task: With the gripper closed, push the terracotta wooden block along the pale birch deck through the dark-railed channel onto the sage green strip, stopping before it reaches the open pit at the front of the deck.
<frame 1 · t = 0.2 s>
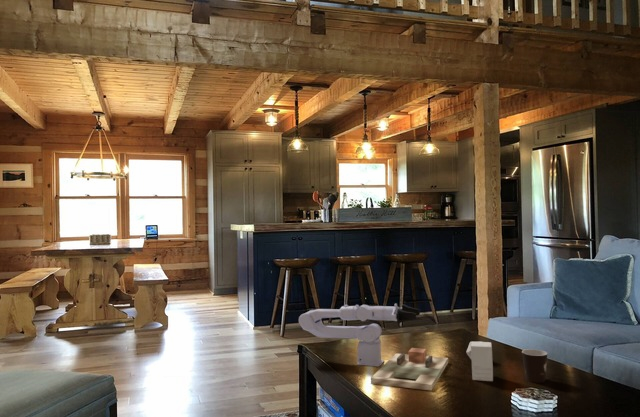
hand: (417, 314, 201), 21 cm above the table, tool horizontal, fingers open, 7 cm apart
die: (477, 361, 208), on the table
deck: (411, 372, 194), on the table
block: (417, 360, 204), point 2 cm above the table, touching deck
coffee mug: (538, 379, 183), on the table
supplement box: (482, 378, 186), on the table
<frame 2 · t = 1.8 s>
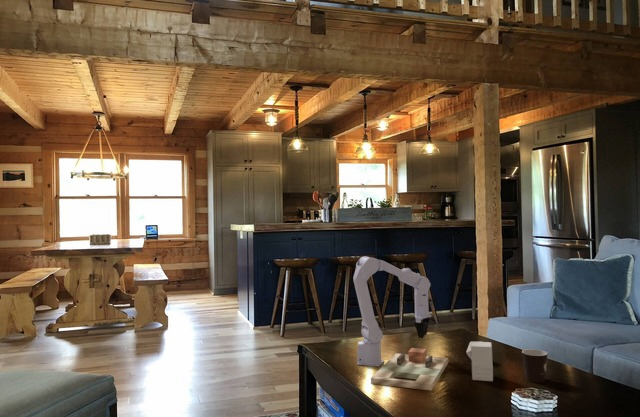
hand: (422, 336, 213), 9 cm above the table, tool pointing down, fingers open, 5 cm apart
nothing on the table moved.
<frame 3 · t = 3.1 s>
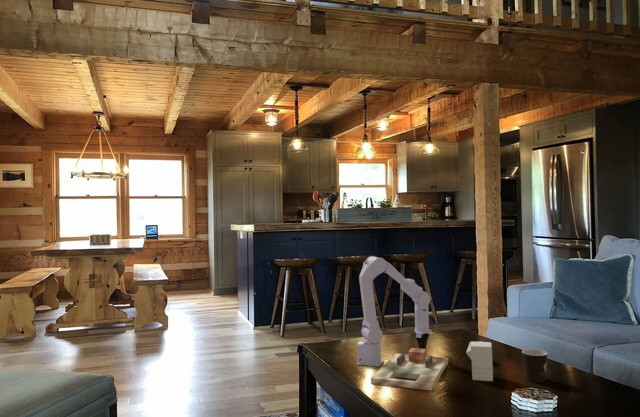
hand: (422, 351, 213), 3 cm above the table, tool pointing down, fingers closed
nothing on the table moved.
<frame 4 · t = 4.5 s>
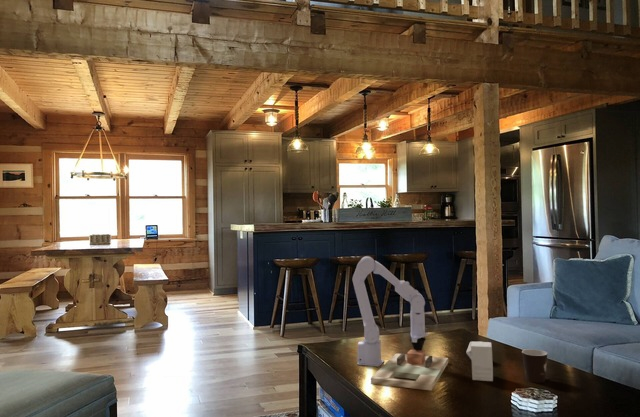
hand: (418, 356, 206), 3 cm above the table, tool pointing down, fingers closed
block: (416, 361, 202), point 2 cm above the table, touching gripper
everything else where it was.
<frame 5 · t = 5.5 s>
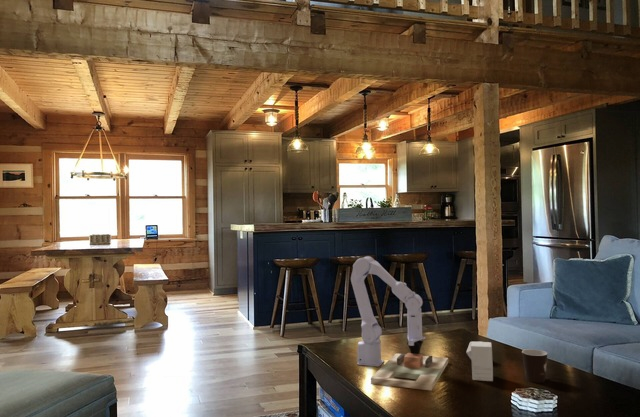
hand: (415, 359, 201), 3 cm above the table, tool pointing down, fingers closed
block: (413, 365, 197), point 2 cm above the table, touching gripper
everything else where it was.
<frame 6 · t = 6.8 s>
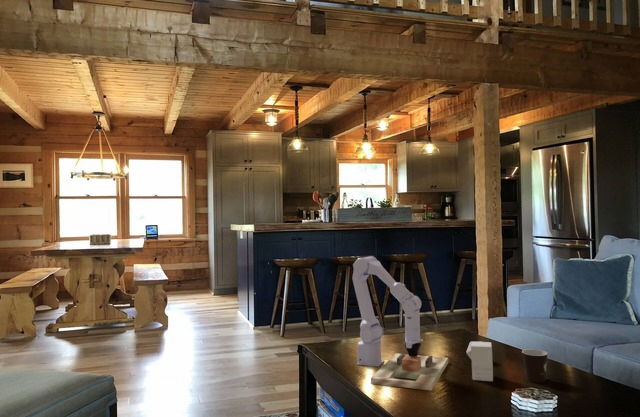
hand: (413, 362, 197), 3 cm above the table, tool pointing down, fingers closed
block: (411, 368, 193), point 2 cm above the table, touching deck, gripper
everything else where it was.
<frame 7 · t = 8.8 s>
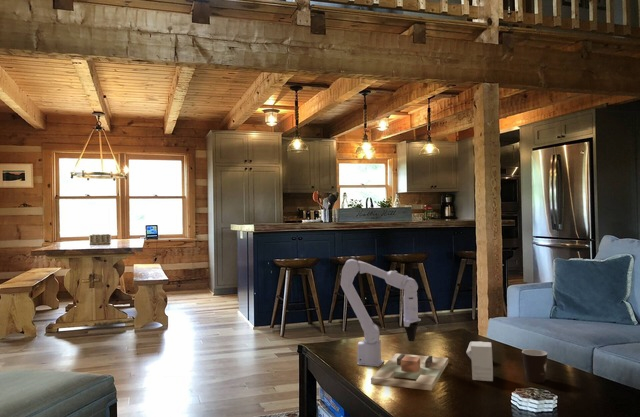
hand: (411, 340, 206), 9 cm above the table, tool pointing down, fingers closed
block: (410, 369, 192), point 2 cm above the table, touching deck
everything else where it was.
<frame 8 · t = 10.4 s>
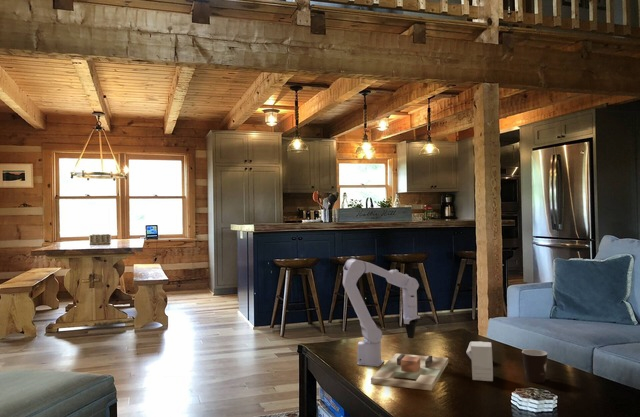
hand: (410, 337, 211), 9 cm above the table, tool pointing down, fingers closed
nothing on the table moved.
at the end: block 0.2 cm from the target spot, point 2.0 cm above the table; block tilted 0°; block touching deck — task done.
